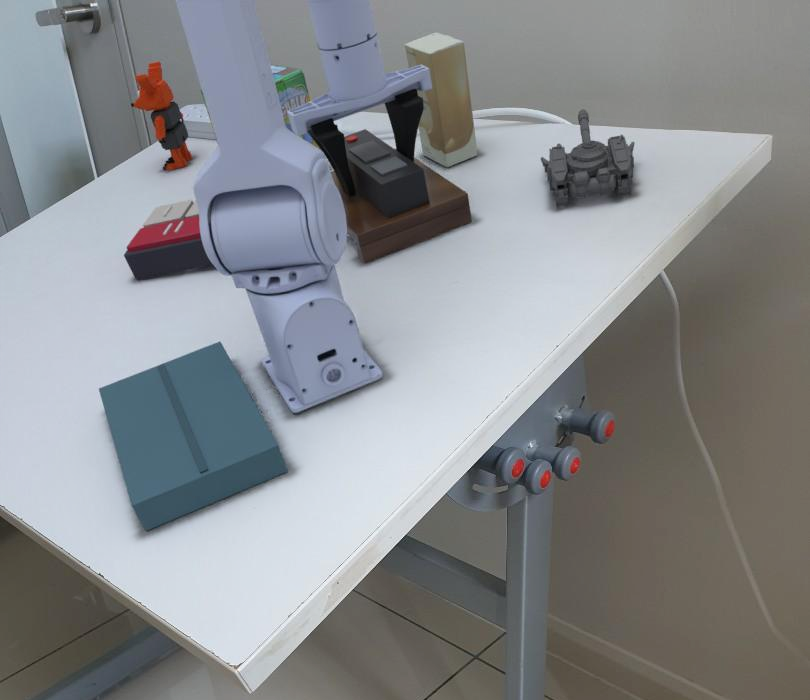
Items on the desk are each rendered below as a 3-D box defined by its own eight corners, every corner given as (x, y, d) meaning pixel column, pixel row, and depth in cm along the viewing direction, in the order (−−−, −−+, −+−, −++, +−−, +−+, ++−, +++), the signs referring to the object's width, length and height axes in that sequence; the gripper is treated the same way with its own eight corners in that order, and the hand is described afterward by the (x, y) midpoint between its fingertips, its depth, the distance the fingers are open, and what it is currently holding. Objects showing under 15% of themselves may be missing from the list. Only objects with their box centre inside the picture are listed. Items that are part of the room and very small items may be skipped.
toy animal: (165, 155, 123) (131, 64, 115) (201, 150, 122) (168, 57, 114) (145, 179, 118) (107, 84, 109) (182, 173, 116) (146, 77, 108)
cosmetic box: (421, 155, 104) (401, 43, 95) (453, 143, 105) (435, 30, 96) (448, 169, 99) (428, 52, 91) (480, 155, 100) (464, 38, 92)
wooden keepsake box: (472, 222, 88) (468, 193, 86) (364, 264, 86) (357, 235, 84) (404, 173, 101) (399, 146, 99) (309, 208, 99) (301, 182, 97)
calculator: (152, 204, 99) (273, 177, 96) (168, 239, 102) (286, 215, 98) (118, 249, 92) (249, 222, 88) (137, 286, 95) (264, 261, 91)
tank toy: (541, 166, 94) (536, 116, 91) (631, 151, 93) (630, 100, 89) (545, 214, 86) (540, 161, 82) (644, 199, 84) (643, 144, 81)
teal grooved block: (288, 471, 64) (277, 443, 62) (146, 531, 62) (130, 504, 60) (229, 365, 77) (219, 339, 75) (110, 412, 75) (97, 386, 73)
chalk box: (229, 188, 109) (186, 59, 99) (287, 158, 112) (250, 31, 102) (271, 200, 103) (229, 65, 93) (330, 169, 106) (296, 35, 96)
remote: (429, 203, 86) (423, 166, 84) (388, 218, 85) (380, 182, 83) (372, 160, 98) (364, 127, 95) (335, 173, 97) (327, 140, 94)
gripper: (400, 10, 86) (425, 149, 95) (264, 56, 84) (303, 194, 93) (429, 21, 81) (453, 167, 90) (285, 70, 79) (324, 215, 88)
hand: (378, 182), depth 91 cm, fingers open, 6 cm apart
